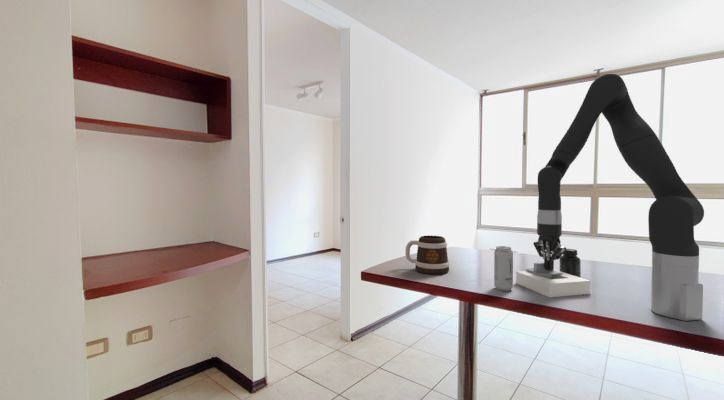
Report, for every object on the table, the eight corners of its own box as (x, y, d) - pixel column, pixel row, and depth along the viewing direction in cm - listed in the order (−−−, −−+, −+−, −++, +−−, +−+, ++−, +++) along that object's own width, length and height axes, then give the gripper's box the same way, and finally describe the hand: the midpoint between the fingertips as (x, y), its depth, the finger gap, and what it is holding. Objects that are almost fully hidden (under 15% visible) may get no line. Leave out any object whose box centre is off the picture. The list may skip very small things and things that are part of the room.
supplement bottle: (574, 277, 123) (574, 248, 122) (584, 282, 116) (585, 251, 115) (555, 277, 123) (556, 248, 123) (565, 282, 116) (565, 251, 116)
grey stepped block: (562, 274, 110) (562, 264, 110) (542, 276, 108) (542, 266, 108) (544, 269, 118) (544, 259, 118) (525, 270, 116) (525, 260, 116)
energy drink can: (510, 292, 105) (510, 249, 105) (491, 289, 109) (492, 247, 109) (514, 288, 110) (515, 247, 109) (497, 285, 114) (497, 245, 113)
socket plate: (590, 293, 103) (590, 280, 103) (549, 297, 100) (549, 283, 100) (552, 280, 119) (552, 269, 119) (516, 283, 116) (516, 271, 116)
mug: (452, 268, 139) (452, 235, 138) (445, 277, 125) (445, 240, 125) (410, 264, 148) (410, 233, 148) (399, 271, 135) (399, 237, 134)
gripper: (574, 224, 104) (573, 274, 105) (543, 220, 117) (543, 265, 118) (555, 224, 103) (554, 275, 103) (526, 220, 116) (526, 266, 116)
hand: (548, 270), depth 110 cm, fingers closed
